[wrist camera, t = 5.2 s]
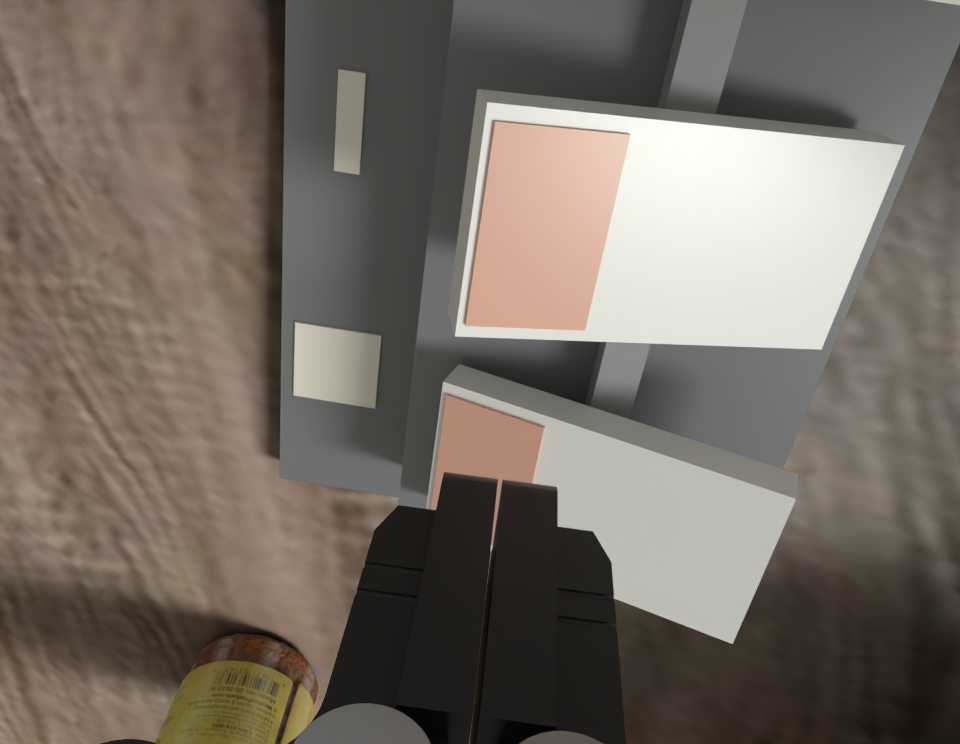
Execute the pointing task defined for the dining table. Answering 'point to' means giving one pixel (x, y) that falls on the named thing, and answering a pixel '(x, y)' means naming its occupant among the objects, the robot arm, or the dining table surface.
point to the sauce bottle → (242, 694)
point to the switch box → (440, 186)
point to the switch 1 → (659, 224)
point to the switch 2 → (626, 494)
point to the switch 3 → (948, 1)
